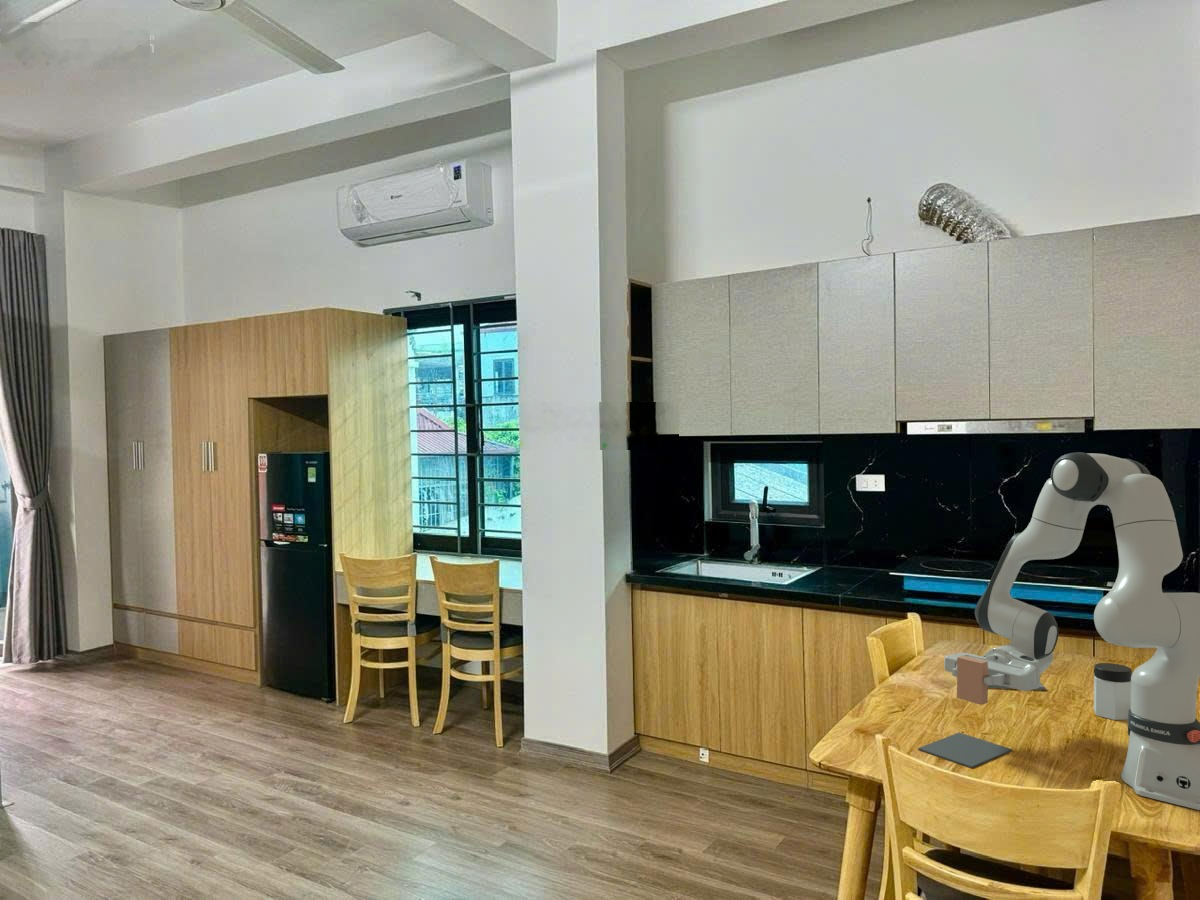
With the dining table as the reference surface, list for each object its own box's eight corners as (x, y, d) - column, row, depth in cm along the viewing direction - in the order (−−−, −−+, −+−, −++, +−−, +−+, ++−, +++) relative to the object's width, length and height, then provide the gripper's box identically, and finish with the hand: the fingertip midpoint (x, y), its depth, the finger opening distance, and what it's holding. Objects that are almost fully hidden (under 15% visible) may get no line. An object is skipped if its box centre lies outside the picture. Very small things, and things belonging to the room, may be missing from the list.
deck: (963, 695, 199) (963, 655, 198) (987, 702, 194) (988, 661, 193) (957, 698, 197) (957, 657, 197) (981, 705, 192) (981, 663, 192)
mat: (1012, 750, 193) (1012, 749, 193) (971, 768, 184) (971, 766, 184) (958, 734, 204) (958, 732, 204) (918, 749, 195) (918, 748, 195)
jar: (1117, 708, 220) (1118, 661, 220) (1141, 719, 212) (1141, 671, 211) (1084, 710, 219) (1085, 663, 219) (1106, 721, 211) (1107, 672, 211)
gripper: (962, 643, 211) (929, 653, 203) (1046, 662, 194) (1013, 673, 186) (962, 669, 211) (929, 679, 203) (1046, 690, 195) (1013, 702, 187)
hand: (970, 677), depth 195 cm, fingers closed on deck, 6 cm apart
